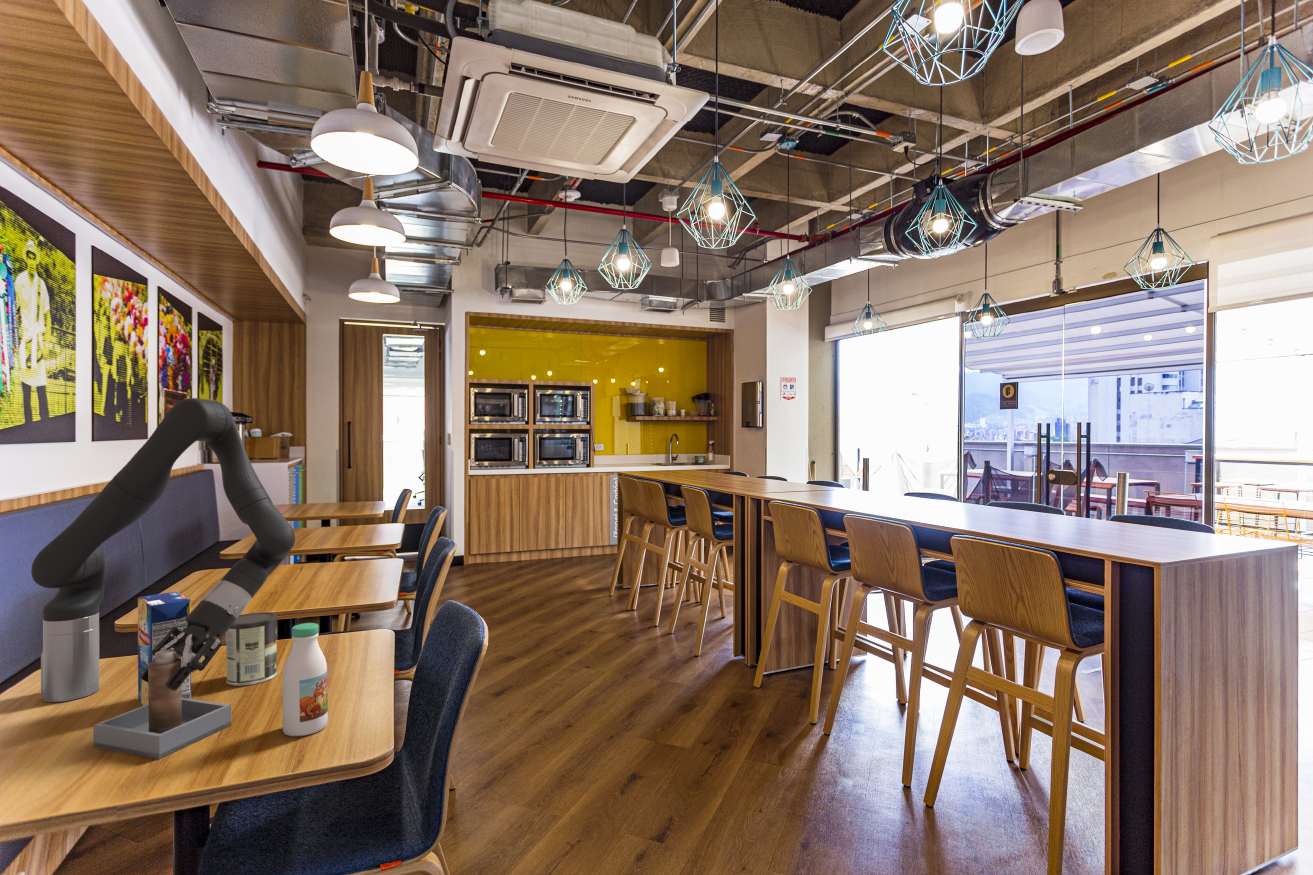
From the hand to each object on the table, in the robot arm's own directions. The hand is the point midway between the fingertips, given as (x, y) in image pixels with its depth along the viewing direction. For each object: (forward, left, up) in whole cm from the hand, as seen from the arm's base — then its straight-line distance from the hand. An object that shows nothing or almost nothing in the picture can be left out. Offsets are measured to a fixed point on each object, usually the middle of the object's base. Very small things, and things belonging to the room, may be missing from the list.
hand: (156, 684), depth 124 cm
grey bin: (0, +1, -10) cm, 10 cm away
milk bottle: (+23, +11, -10) cm, 28 cm away
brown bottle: (0, +1, -9) cm, 10 cm away
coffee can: (-10, +29, -10) cm, 33 cm away
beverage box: (-16, +13, -10) cm, 23 cm away
